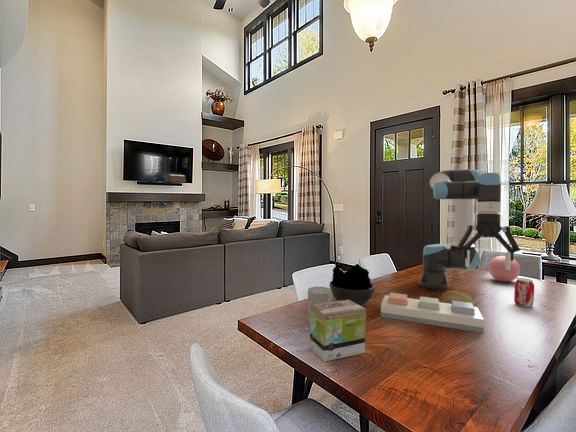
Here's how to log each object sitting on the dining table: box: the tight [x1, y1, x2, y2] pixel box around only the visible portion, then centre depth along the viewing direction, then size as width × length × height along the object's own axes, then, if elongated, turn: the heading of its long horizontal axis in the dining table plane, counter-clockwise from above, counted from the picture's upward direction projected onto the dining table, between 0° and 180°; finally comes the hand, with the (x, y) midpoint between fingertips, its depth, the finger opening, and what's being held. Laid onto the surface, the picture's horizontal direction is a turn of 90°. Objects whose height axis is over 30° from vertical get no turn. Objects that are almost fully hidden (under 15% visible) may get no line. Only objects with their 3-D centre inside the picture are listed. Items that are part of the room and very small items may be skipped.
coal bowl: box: [329, 263, 376, 306], centre depth 137 cm, size 20×20×19 cm
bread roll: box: [439, 289, 478, 307], centre depth 134 cm, size 10×15×8 cm, turn 43°
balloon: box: [487, 255, 521, 283], centre depth 181 cm, size 15×20×15 cm
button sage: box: [419, 296, 440, 310], centre depth 123 cm, size 7×7×3 cm
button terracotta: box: [388, 292, 408, 306], centre depth 128 cm, size 7×7×3 cm
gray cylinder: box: [307, 286, 333, 323], centre depth 120 cm, size 10×10×12 cm
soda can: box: [513, 277, 535, 308], centre depth 138 cm, size 7×7×12 cm
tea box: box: [309, 300, 367, 363], centre depth 96 cm, size 15×10×15 cm
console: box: [380, 294, 485, 334], centre depth 123 cm, size 14×36×5 cm, turn 65°
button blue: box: [452, 301, 475, 315], centre depth 118 cm, size 7×7×3 cm
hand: (487, 268), depth 116 cm, fingers open, 13 cm apart
